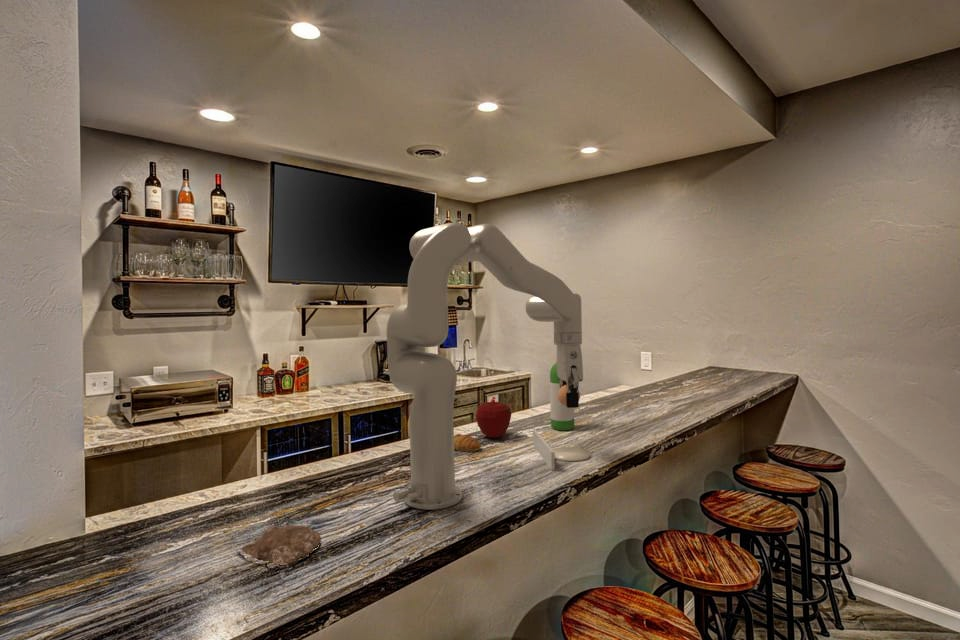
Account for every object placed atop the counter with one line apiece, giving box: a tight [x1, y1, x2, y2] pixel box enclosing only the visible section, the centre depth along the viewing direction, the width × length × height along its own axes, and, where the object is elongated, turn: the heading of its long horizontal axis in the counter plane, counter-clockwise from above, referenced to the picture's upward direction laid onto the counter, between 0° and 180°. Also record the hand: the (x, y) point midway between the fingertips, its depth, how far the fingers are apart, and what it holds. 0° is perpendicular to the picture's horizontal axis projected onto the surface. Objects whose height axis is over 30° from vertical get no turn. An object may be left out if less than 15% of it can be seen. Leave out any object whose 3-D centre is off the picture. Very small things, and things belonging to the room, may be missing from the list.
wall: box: [532, 429, 556, 471], centre depth 135 cm, size 22×1×4 cm, turn 6°
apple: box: [475, 400, 512, 439], centre depth 155 cm, size 11×11×12 cm
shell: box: [240, 524, 322, 565], centre depth 87 cm, size 12×13×4 cm
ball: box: [558, 384, 581, 406], centre depth 135 cm, size 6×6×6 cm
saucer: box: [551, 446, 591, 463], centre depth 136 cm, size 11×11×1 cm
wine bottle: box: [549, 361, 575, 431], centre depth 164 cm, size 8×8×30 cm
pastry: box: [454, 433, 482, 453], centre depth 144 cm, size 9×7×4 cm
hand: (569, 404), depth 135 cm, fingers closed on ball, 5 cm apart
